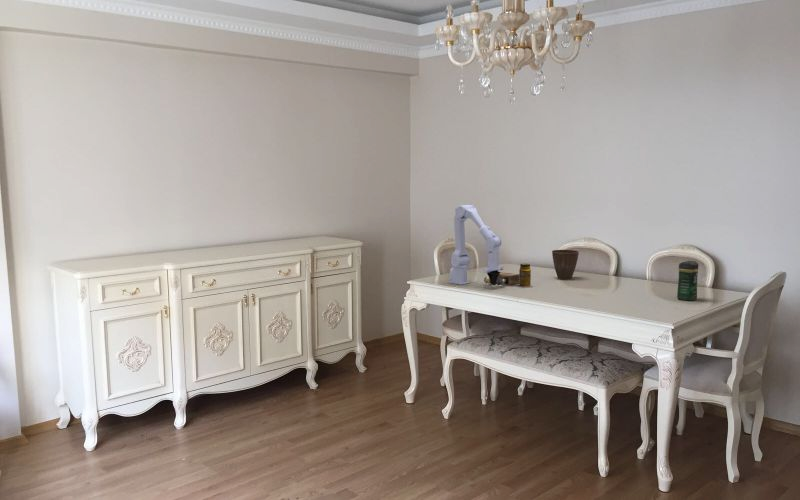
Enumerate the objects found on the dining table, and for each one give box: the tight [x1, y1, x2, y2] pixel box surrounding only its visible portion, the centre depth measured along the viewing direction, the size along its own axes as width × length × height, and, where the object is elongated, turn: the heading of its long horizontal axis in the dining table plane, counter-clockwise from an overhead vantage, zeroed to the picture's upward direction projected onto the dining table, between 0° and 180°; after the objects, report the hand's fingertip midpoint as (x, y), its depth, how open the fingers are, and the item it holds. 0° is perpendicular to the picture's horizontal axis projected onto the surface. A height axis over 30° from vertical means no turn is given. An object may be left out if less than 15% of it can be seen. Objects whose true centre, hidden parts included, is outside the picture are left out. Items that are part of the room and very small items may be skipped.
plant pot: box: [551, 249, 580, 281], centre depth 383 cm, size 15×15×16 cm
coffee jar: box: [676, 260, 699, 302], centre depth 318 cm, size 10×8×19 cm
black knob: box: [496, 278, 508, 286], centre depth 361 cm, size 3×9×3 cm, turn 134°
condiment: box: [512, 263, 533, 289], centre depth 360 cm, size 7×8×12 cm
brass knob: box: [483, 276, 491, 284], centre depth 367 cm, size 3×9×3 cm, turn 134°
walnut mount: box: [489, 271, 519, 287], centre depth 368 cm, size 14×8×6 cm, turn 44°
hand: (493, 285), depth 355 cm, fingers closed
